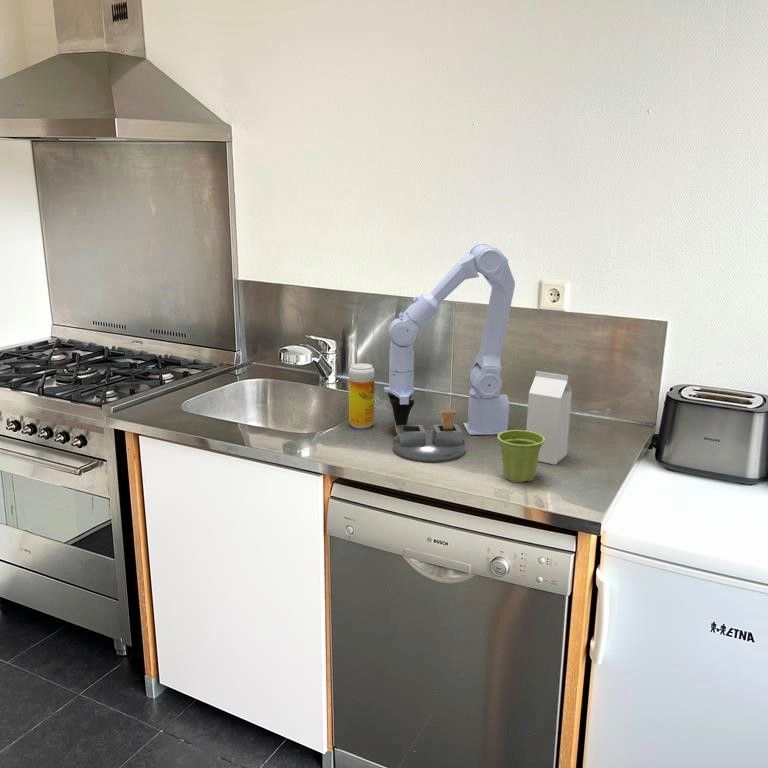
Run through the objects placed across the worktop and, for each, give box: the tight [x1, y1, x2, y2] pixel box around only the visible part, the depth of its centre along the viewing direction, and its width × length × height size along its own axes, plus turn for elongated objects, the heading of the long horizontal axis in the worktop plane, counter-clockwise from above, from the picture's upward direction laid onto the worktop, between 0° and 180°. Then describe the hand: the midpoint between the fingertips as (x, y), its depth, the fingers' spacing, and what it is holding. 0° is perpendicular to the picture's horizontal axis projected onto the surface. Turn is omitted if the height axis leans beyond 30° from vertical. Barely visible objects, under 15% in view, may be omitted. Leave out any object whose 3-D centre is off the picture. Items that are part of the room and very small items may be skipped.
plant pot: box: [497, 429, 545, 483], centre depth 155 cm, size 9×9×9 cm
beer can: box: [348, 362, 375, 430], centre depth 185 cm, size 6×6×15 cm
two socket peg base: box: [392, 409, 466, 464], centre depth 170 cm, size 16×16×9 cm
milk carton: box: [525, 370, 573, 466], centre depth 165 cm, size 7×7×19 cm
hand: (400, 424), depth 182 cm, fingers open, 3 cm apart
